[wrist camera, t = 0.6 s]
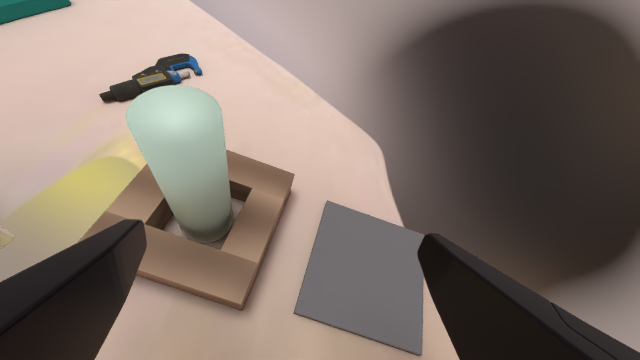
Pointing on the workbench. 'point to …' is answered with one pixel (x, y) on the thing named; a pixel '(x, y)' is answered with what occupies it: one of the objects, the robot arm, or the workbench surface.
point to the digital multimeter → (27, 8)
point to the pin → (186, 156)
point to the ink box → (5, 236)
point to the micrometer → (153, 77)
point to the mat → (365, 278)
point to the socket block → (198, 259)
